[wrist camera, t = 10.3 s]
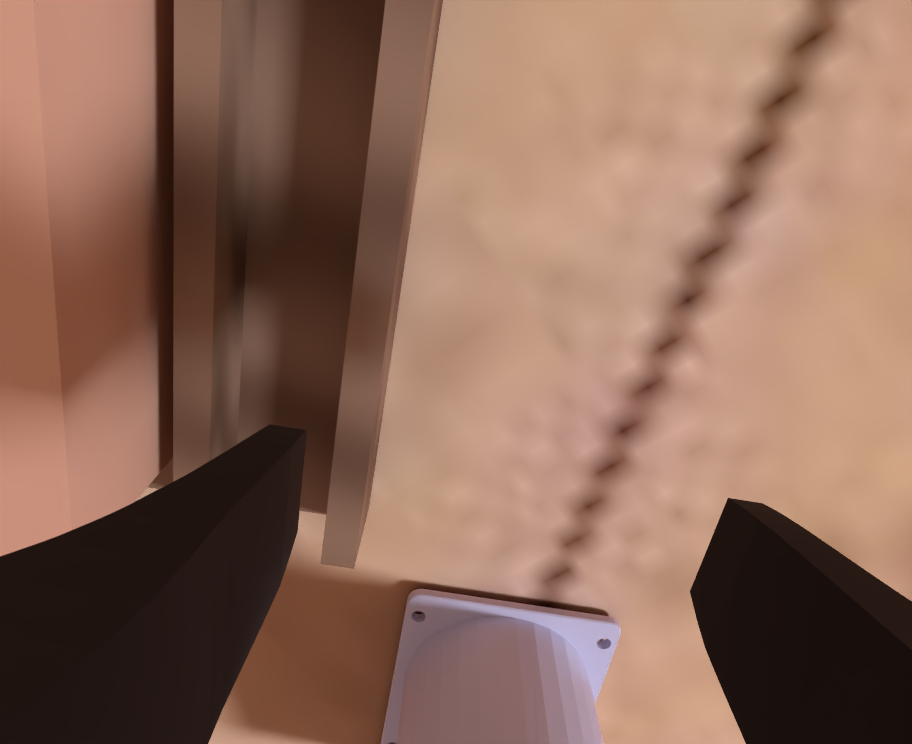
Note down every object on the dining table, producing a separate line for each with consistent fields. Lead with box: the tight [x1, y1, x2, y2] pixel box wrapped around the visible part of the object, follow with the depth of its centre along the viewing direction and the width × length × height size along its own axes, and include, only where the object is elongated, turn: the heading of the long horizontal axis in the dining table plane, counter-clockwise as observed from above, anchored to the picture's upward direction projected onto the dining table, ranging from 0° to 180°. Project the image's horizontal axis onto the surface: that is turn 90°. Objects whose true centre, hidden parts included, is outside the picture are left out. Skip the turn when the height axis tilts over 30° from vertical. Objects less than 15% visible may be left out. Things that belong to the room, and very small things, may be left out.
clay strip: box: [0, 0, 174, 556], centre depth 14 cm, size 16×2×6 cm, turn 170°
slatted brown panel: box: [148, 0, 443, 569], centre depth 16 cm, size 20×14×3 cm
